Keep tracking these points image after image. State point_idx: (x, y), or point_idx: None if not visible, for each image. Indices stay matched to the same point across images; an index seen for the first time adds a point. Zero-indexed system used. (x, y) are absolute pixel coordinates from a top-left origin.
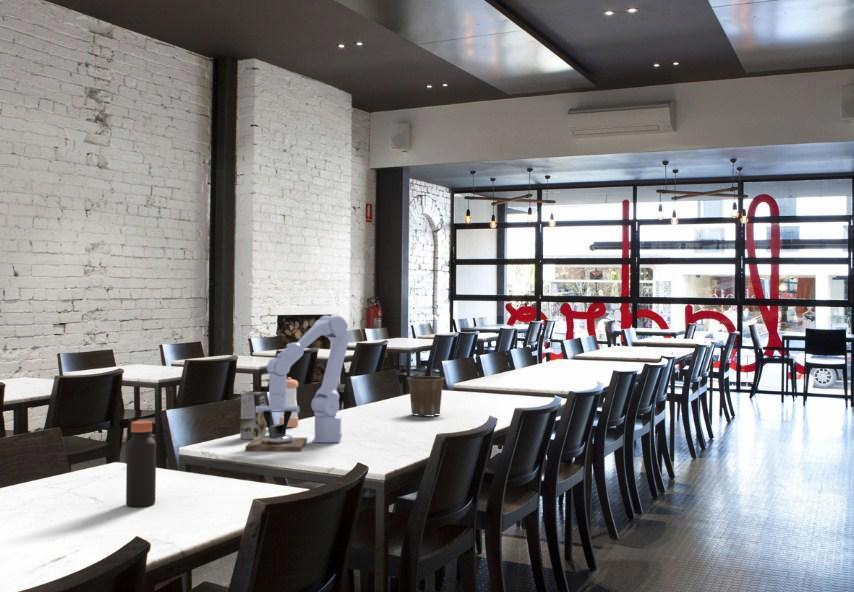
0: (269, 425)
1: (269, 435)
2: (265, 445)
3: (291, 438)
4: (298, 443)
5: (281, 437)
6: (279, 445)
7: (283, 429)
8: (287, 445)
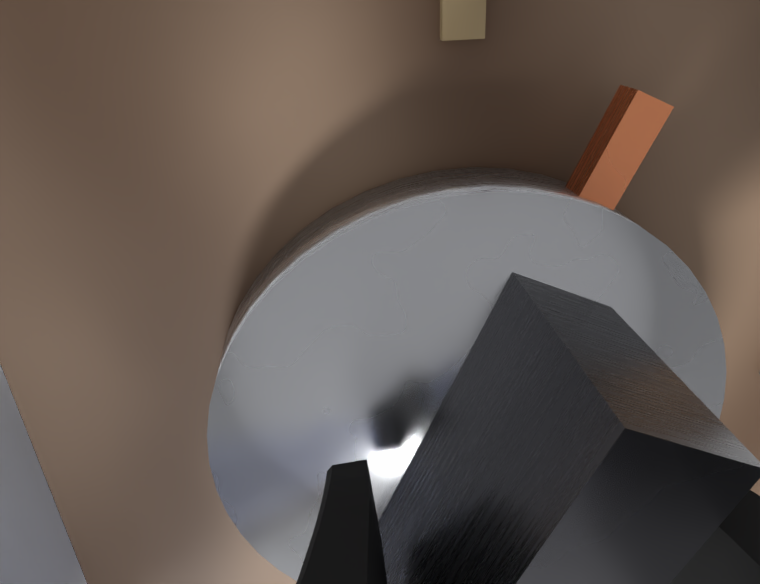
0: (754, 534)
1: (626, 331)
2: (625, 30)
3: (209, 415)
4: (60, 300)
5: (389, 396)
6: (354, 57)
7: (367, 520)
8: (194, 74)
